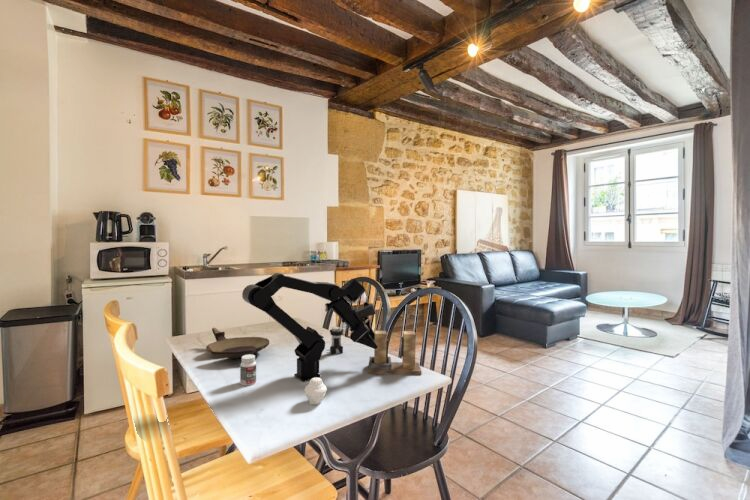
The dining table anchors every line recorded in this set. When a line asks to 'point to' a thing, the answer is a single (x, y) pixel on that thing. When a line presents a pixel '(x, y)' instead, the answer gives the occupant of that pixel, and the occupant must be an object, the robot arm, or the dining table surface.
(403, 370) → the wooden pillar stand
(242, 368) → the pill bottle
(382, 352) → the oak finger
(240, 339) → the oil lamp
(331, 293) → the robot arm
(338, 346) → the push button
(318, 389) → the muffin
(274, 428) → the dining table surface
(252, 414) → the dining table surface
